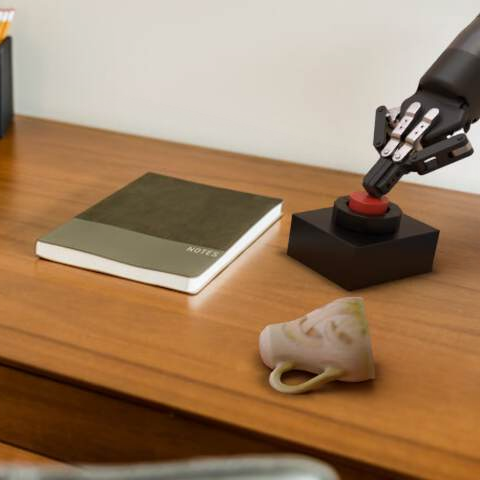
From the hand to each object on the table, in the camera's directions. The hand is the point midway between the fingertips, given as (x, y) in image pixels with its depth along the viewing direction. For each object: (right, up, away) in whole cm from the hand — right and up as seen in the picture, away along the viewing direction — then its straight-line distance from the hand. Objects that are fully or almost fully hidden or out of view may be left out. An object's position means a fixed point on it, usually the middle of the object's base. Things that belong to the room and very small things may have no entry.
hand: (370, 191), depth 95 cm
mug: (-10, -17, -18) cm, 27 cm away
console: (0, -8, +3) cm, 9 cm away
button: (0, -2, +1) cm, 3 cm away
